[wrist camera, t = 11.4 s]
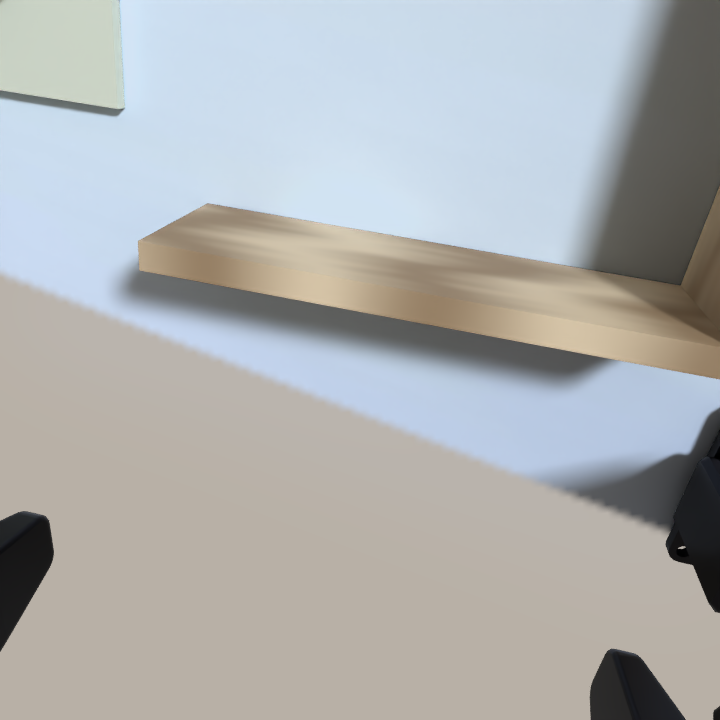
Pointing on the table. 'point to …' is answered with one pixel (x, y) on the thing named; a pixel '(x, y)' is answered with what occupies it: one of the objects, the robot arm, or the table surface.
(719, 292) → the open box
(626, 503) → the table surface
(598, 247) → the table surface
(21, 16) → the sage mat
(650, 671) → the robot arm
